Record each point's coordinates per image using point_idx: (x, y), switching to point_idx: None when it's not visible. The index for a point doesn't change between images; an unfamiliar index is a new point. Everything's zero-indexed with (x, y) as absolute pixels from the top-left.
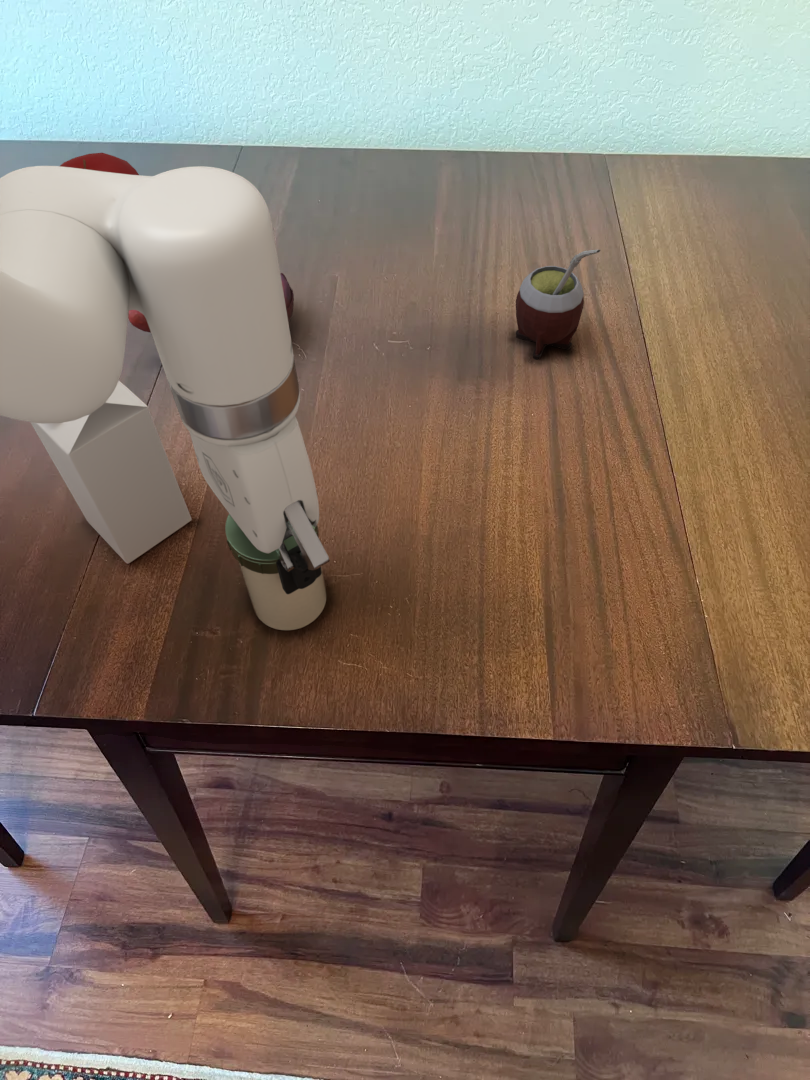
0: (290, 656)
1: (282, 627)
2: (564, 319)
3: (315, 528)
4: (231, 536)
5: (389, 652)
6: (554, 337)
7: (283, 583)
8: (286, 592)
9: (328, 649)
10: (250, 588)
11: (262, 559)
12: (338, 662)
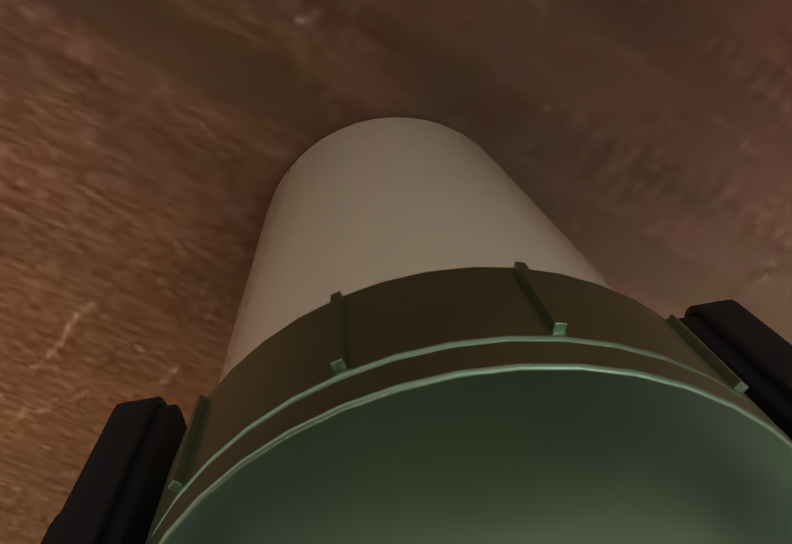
0: (166, 166)
1: (278, 188)
2: None
3: None
4: (550, 402)
5: (70, 441)
6: None
7: (77, 482)
8: (115, 413)
9: (146, 290)
10: (362, 190)
11: None
12: (86, 301)
